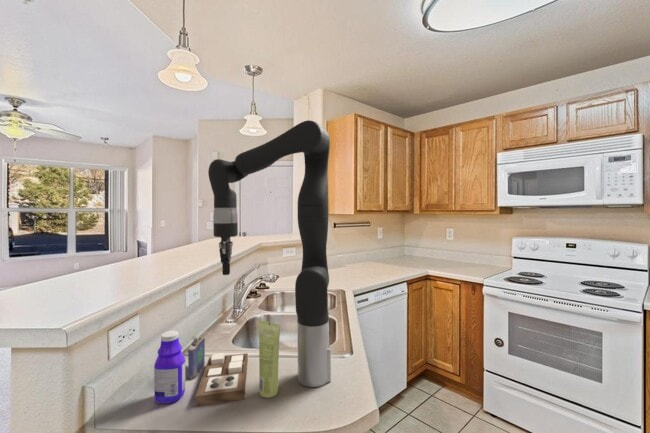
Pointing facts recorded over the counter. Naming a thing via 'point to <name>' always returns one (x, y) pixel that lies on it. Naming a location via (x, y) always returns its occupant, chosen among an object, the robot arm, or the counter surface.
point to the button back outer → (218, 359)
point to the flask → (196, 357)
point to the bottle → (169, 369)
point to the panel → (222, 383)
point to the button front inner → (235, 367)
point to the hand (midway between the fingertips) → (226, 274)
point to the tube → (268, 357)
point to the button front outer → (214, 372)
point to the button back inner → (237, 358)
